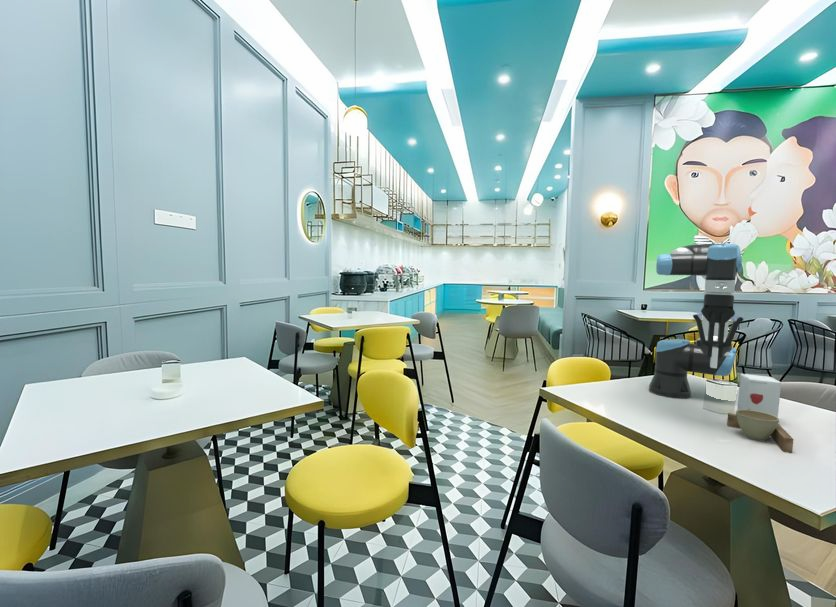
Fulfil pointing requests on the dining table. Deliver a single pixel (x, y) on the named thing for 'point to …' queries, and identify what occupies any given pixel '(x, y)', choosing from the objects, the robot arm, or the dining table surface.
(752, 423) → the flower pot
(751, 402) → the supplement box
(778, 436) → the l-shaped wooden block
